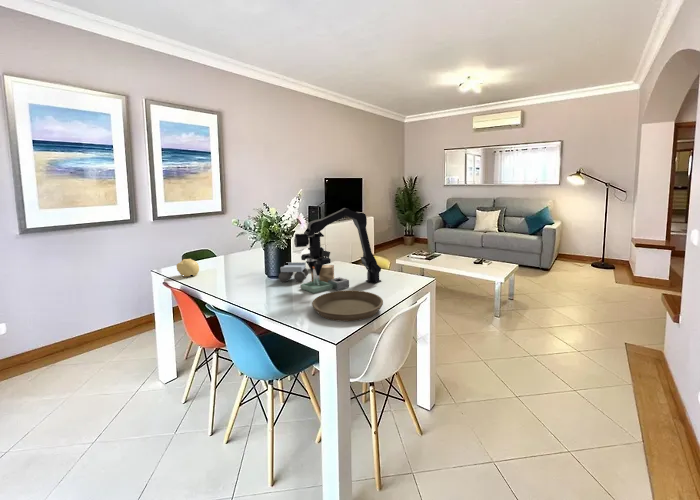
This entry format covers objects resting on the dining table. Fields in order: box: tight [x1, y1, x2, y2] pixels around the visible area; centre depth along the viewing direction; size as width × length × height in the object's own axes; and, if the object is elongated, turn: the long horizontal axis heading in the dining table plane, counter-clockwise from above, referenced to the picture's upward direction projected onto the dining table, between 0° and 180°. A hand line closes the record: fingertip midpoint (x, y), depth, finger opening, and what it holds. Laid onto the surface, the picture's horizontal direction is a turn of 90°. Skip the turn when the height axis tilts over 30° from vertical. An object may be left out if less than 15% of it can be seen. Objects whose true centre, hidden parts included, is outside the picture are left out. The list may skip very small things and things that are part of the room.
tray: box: [300, 280, 334, 295], centre depth 195 cm, size 12×12×2 cm
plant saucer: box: [311, 289, 384, 322], centre depth 162 cm, size 31×31×5 cm
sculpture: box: [176, 258, 200, 278], centre depth 229 cm, size 12×12×11 cm
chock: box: [310, 264, 335, 283], centre depth 208 cm, size 12×6×9 cm, turn 86°
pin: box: [312, 266, 320, 285], centre depth 194 cm, size 4×4×10 cm
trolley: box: [278, 261, 309, 283], centre depth 214 cm, size 15×12×9 cm
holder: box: [328, 276, 350, 291], centre depth 197 cm, size 8×8×4 cm
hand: (316, 274), depth 194 cm, fingers closed on pin, 3 cm apart
